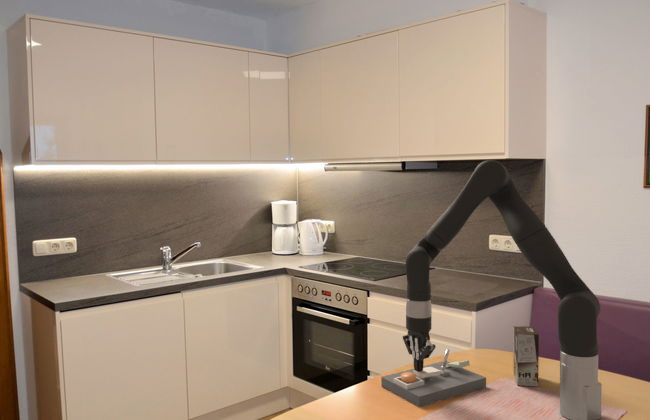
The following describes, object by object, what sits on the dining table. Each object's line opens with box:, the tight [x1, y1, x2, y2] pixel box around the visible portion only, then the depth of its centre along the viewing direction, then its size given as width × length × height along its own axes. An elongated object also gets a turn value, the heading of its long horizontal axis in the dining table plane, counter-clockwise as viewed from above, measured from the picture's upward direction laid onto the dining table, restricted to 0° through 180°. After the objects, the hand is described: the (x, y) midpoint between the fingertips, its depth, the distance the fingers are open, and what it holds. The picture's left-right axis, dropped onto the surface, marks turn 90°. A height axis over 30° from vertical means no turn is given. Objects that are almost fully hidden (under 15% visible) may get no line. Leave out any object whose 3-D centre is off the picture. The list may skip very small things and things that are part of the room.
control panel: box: [380, 360, 487, 408], centre depth 169 cm, size 18×26×4 cm
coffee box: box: [512, 325, 540, 387], centre depth 172 cm, size 9×6×16 cm
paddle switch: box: [448, 359, 470, 368], centre depth 175 cm, size 6×4×2 cm, turn 30°
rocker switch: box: [412, 367, 441, 378], centre depth 168 cm, size 4×7×1 cm, turn 120°
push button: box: [401, 372, 416, 384], centre depth 165 cm, size 4×4×2 cm
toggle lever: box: [441, 348, 450, 371], centre depth 172 cm, size 1×1×7 cm
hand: (418, 370), depth 166 cm, fingers closed
